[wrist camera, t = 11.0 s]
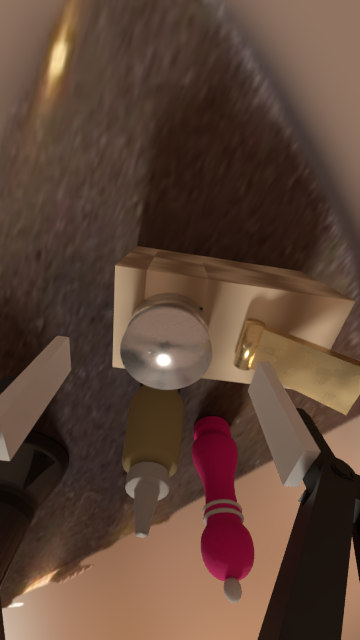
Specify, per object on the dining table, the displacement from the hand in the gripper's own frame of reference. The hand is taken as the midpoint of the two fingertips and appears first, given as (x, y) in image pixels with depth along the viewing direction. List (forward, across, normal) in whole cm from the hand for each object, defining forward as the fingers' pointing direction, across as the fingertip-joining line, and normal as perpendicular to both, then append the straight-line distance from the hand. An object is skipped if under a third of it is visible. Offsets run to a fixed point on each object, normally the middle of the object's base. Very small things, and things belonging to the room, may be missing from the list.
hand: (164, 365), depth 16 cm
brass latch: (+3, +11, 0) cm, 11 cm away
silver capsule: (+13, 0, 0) cm, 13 cm away
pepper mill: (+15, +10, -24) cm, 30 cm away
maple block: (+15, +5, 0) cm, 16 cm away
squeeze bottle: (+15, 0, -17) cm, 23 cm away
